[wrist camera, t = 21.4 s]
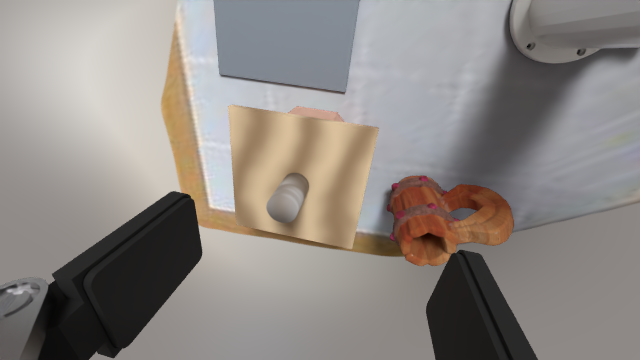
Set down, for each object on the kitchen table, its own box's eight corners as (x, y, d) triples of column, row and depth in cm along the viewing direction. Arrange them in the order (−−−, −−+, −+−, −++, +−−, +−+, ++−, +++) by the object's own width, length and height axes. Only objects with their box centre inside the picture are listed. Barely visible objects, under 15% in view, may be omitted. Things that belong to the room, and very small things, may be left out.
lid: (378, 127, 29) (380, 148, 23) (352, 244, 37) (348, 282, 31) (232, 104, 31) (197, 117, 25) (239, 220, 39) (214, 251, 33)
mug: (393, 217, 45) (402, 284, 32) (377, 180, 43) (379, 237, 29) (482, 193, 40) (535, 261, 27) (470, 149, 37) (523, 201, 24)
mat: (373, -96, 28) (373, -98, 27) (345, 91, 37) (345, 92, 37) (207, -105, 30) (205, -107, 30) (220, 74, 39) (219, 74, 39)
